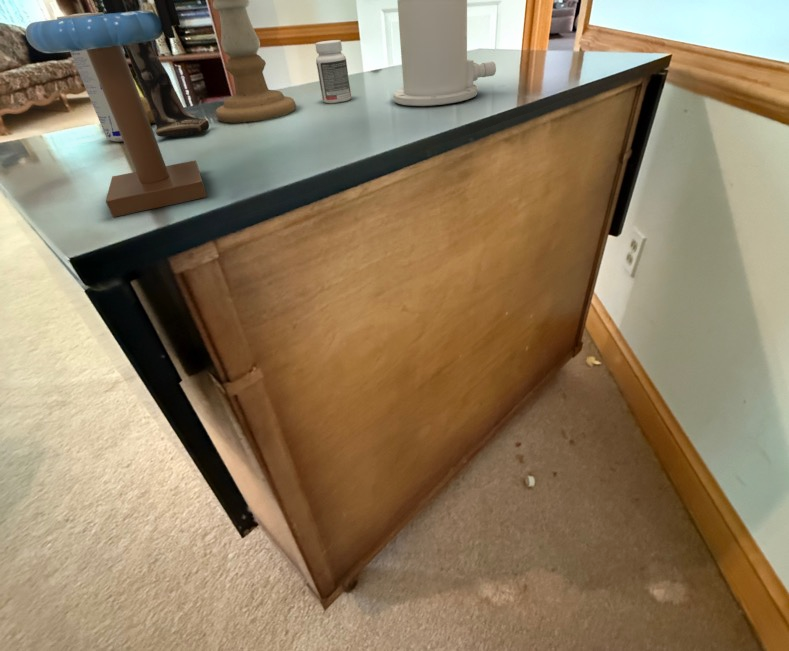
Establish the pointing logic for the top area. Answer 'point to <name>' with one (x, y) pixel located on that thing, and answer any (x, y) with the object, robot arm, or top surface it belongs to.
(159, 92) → the statue
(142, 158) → the brown upside-down t-shape
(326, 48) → the pill bottle
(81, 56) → the white blue box
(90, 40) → the ring
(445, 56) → the robot arm
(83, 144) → the top surface
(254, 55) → the candle holder
